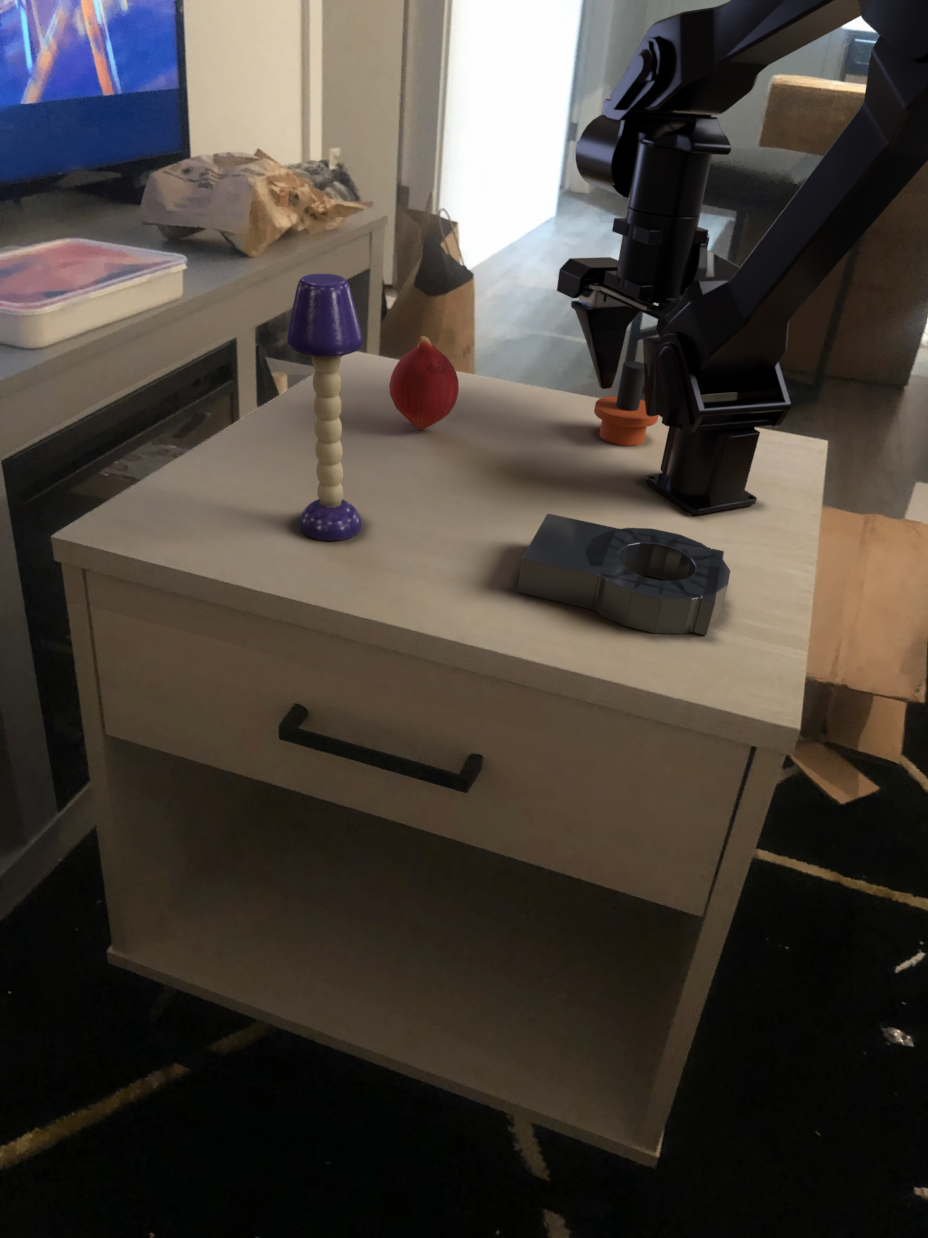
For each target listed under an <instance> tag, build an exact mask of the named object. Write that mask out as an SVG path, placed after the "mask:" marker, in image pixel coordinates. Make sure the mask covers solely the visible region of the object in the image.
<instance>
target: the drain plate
mask: <svg viewBox="0 0 928 1238" xmlns="http://www.w3.org/2000/svg"><path fill="white" fill-rule="evenodd" d="M724 556H725V551H724V550H722V549H716V548H711V547H708V546H706V545H705V544H703V542H700V541H697V540H694V539H692V538H690V537H687V536H685V535H682V534H679V533H674V532H670V531H665V530H662V529H656V528H650V527H649V528H647V527H622V528H617V527H613V526H609V525H605V524H599V523H595V522H590V521H585V520H580V519H576V518H571V517H567V516H561V515H557V514H552V513H547V514H545V516H544V518H543V520H542V522H541V523H540V525H539V527H538V528H537V531H536V533H535V535H534V537H533V538H532V539H531V541H530V543H529V545H528V547H527V548H526V550H525V552H524V554H523V556H522V558H521V563H520V571H519V577H518V584H517V593H518V594H524V595H528V596H532V597H536V598H541V599H545V600H550V601H554V602H558V603H563V604H566V605H571V606H575V607H579V608H584V609H588V610H592V611H595V612H596V613H598V614H599V615H600V616H602V617H604V618H606V619H609V620H610V621H612V622H615V623H617V624H619V625H621V626H623V627H627V628H630V629H635V630H640V631H644V632H648V633H651V634H672V635H673V634H675V635H678V634H680V635H682V634H688V633H691V634H692V633H694V634H697V635H702V636H707V635H708V634H709V629H710V627H711V626H710V625H711V624H713V623H714V622H715V621H717V620H718V618H720V616H721V612H722V610H723V605H724V601H725V598H726V594H727V591H728V587H729V582H730V576H731V569H730V567H729V566H728V564H727V563H726V562H725V560H724ZM650 577H651V578H650ZM654 578H655V579H654ZM659 579H660V580H659Z"/></svg>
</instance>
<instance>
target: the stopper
mask: <svg viewBox="0 0 928 1238" xmlns="http://www.w3.org/2000/svg"><path fill="white" fill-rule="evenodd" d="M643 389H644V362H640V361H636V360H628V361H624V362H623V363H622V369H621V375H620V380H619V386H618V391H617V395H613V396H611V395H610V396H604V397H601V398H599V399H597V400H596V401H595V404H594V408H593V409H594V410H593V412H594V415H595V416H596V417H597V418H598V419H600V420H601V422H600V423H601V424H600V430H599V437H600V438H601V439H602V440H604V441H605V442H608V443H610V444H613V445H619V446H624V447H625V446H626V447H627V446H629V447H631V446H633V447H634V446H638V445H641V444H643V443H644V442H645V437H646V432H647V428H648V427H651V426H654V425H655V424H657V422H658V420H659V415H657V416H651V417H650V416H648V415H647V414H646V407H645V400H642V399H641V398H642V393H643Z"/></svg>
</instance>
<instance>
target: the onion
mask: <svg viewBox="0 0 928 1238" xmlns="http://www.w3.org/2000/svg"><path fill="white" fill-rule="evenodd" d="M388 388H389V396H390V398H391V401H392V403H393V405H394V406H395V408H396V410H397V411H398V412H399V413H400V414H401V415H402V416H403V417H404V418H405V419H406V420H407V421H408V422H409V423H410V424H411V425H412V426H413V427H414V428H415V429H417V430H420V431H422V430H425V429H427V428H429V427H431V426H433V425H434V424H436V423H438V422H440V421H442V420H443V419H445V417H447V416H448V415H449V414H451V412H452V411H453V408H454V407H455V405H456V402H457V399H458V395H459V390H460V387H459V379H458V374H457V371H456V370H455V366H454V365H453V364H452V363H451V361H450V360H449V359H448V357H447V356H445V354H443V353H442V351H440V350H439V349H438V348H437V347H436V346H435V345H434V344H433V343H432V342H431V340H430V338H429V337H427V336H426V335H420V336H419V337H418V344H417V346H416V347H414V348H413V349H412V350H410V351H408V352H407V353H405V354H404V355H403V356H402V357H401V358H400V359H399V360H398V362H397V363H396V365H395V366H394V369H393V371H392V373H391V376H390V380H389V384H388Z"/></svg>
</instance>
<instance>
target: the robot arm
mask: <svg viewBox="0 0 928 1238" xmlns="http://www.w3.org/2000/svg"><path fill="white" fill-rule="evenodd" d="M860 17H861V19H862V20H863V21H864V22H865V23H866V24H867V25H868V26H869V27H870V28H871V29H872V30H873V31H874V32H875V33H877V34H878V35H879V36H878V37H877V40H876V41H875V43H874V44H873V46H872V49H871V51H870V55H869V63H868V69H867V70H868V71H867V76H866V85H865V91H864V99H863V101H862V104H861V105H860V107H859V109H858V110H857V111H856V112H855V114H854V115H853V117H852V118H851V119H850V121H849V122H848V123H847V124H846V126H845V127H844V128H843V130H842V132H841V133H840V134H839V135H838V137H837V138H836V139H835V141H834V142H833V143H832V144H831V146H830V147H829V148H828V150H827V151H826V153H825V154H824V155H823V157H822V158H821V159H820V160H819V162H818V163H817V164H816V166H815V167H814V169H813V170H812V171H811V172H810V174H809V175H808V177H807V178H806V179H805V181H804V182H803V183H802V184H801V185H800V187H799V188H798V190H797V191H796V193H795V194H794V195H793V196H792V197H791V199H790V200H789V201H788V203H787V204H786V206H785V207H784V208H783V210H782V211H781V212H780V214H779V215H778V216H777V218H776V219H775V220H774V222H773V223H772V224H771V225H770V227H769V228H768V230H767V231H766V232H765V234H764V235H763V236H762V237H761V239H760V240H759V241H758V243H757V244H756V245H755V247H754V248H753V249H752V251H751V252H750V253H749V255H748V256H747V258H745V260H744V261H743V263H742V264H741V265H737V264H736V263H734V262H732V261H730V260H728V259H726V258H724V257H722V256H720V255H718V254H716V253H714V252H712V251H710V250H708V248H709V242H710V234H709V229H707V228H703V227H700V226H699V222H700V217H701V212H702V207H703V202H704V197H705V193H706V188H707V182H708V178H709V172H710V168H711V163H712V158H713V155H715V156H716V155H717V156H729V154H731V151H732V145H731V142H730V141H729V138H728V136H727V135H726V134H725V132H724V131H723V129H722V128H721V125H720V122H719V118H718V117H717V116H718V115H722V114H724V113H725V112H727V111H728V110H730V108H732V107H733V106H734V105H736V104H737V103H738V102H739V101H740V100H741V99H743V98H744V97H745V96H747V95H748V94H749V93H751V91H753V89H754V87H755V85H756V83H757V80H758V77H759V74H760V73H761V72H762V71H763V70H764V69H766V68H767V67H768V66H770V65H772V64H774V63H775V62H777V61H779V60H781V59H783V58H785V57H787V56H788V55H791V54H792V53H794V52H796V51H798V50H799V49H802V48H803V47H805V46H807V45H809V44H811V43H813V42H815V41H817V40H818V39H820V38H823V37H824V36H826V35H829V33H831V32H833V31H836V30H837V29H839V28H841V27H843V26H845V25H847V24H849V23H851V22H852V21H854V20H856V19H859V18H860ZM641 39H642V40H641V42H640V44H639V45H638V47H637V49H636V51H635V52H634V54H633V56H632V58H631V60H630V62H629V64H628V66H627V68H626V69H625V72H624V74H623V76H622V77H621V79H620V80H619V82H617V83H618V84H617V85H616V86H615V88H614V89H613V90H612V91H611V93H610V95H609V98H605V99H604V100H603V105H602V112H601V115H599V116H597V117H595V118H593V119H592V120H591V121H590V122H589V123H588V124H587V125H586V127H585V128H584V130H583V131H582V133H581V135H580V138H579V140H578V141H577V142H576V147H575V157H574V158H575V165H576V168H577V171H578V173H579V175H580V177H581V178H582V179H583V180H584V181H585V182H586V183H587V184H589V185H590V186H593V187H595V188H599V189H601V190H603V191H604V190H605V191H606V192H609V193H612V194H616V195H618V196H621V197H623V198H626V199H628V200H627V206H626V212H625V217H614V218H613V222H612V229H611V232H613V233H616V234H619V235H620V236H621V243H620V248H619V253H618V259H616V258H614V257H611V256H605V257H604V256H603V257H602V256H601V257H570V258H568V259H567V260H566V262H565V263H564V264H563V265H562V266H561V267H560V268H559V271H558V279H557V286H556V292H559V293H560V294H562V295H564V296H566V297H569V298H570V299H577V300H572V301H570V308H571V309H573V310H574V311H575V314H576V317H577V320H578V322H579V325H580V328H581V330H582V334H583V336H584V339H585V342H586V346H587V349H588V352H589V355H590V358H591V362H592V365H593V369H594V372H595V375H596V379H597V383H598V386H599V388H600V389H602V390H609V389H612V387H613V385H614V382H615V380H616V376H617V372H618V370H619V369H618V368H619V365H620V361H621V356H622V352H623V347H624V343H625V338H626V334H627V330H628V327H629V326H630V325H631V323H632V322H633V321H634V319H635V318H636V317H637V316H638V315H639V313H640V312H641V313H643V314H645V315H647V316H650V317H652V318H654V319H656V320H657V323H656V327H655V328H656V331H657V335H658V336H647V337H643V338H642V349H643V350H642V352H643V353H642V354H643V364H644V383H643V389H644V390H643V391H644V393H643V394H644V401H645V407H646V414H647V415H648V416H650V417H651V416H657V415H658V417H660V418H661V424H662V425H664V426H665V427H668V431H667V434H666V435H667V436H666V440H665V445H664V450H663V455H662V458H661V464H660V473H655V474H648V475H646V476H645V480H644V482H645V483H646V484H647V485H648V486H649V487H651V488H653V489H654V490H655V491H657V492H658V493H660V494H662V495H663V496H664V497H666V498H668V500H670V501H672V502H674V503H675V504H676V505H678V506H680V507H681V508H683V509H684V510H685V511H687V512H688V513H690V514H692V515H704V514H710V513H714V512H715V513H716V512H720V511H725V510H731V509H737V508H744V507H749V506H753V505H756V504H757V500H758V498H757V496H756V495H754V494H752V493H750V492H749V491H747V490H746V488H747V483H748V479H749V476H750V472H751V468H752V465H753V461H754V457H755V454H756V450H757V446H758V442H759V438H760V434H761V432H760V431H759V430H758V429H757V428H764V427H772V428H777V427H778V428H779V427H781V425H782V424H783V422H784V420H785V418H786V417H787V416H788V413H789V412H790V410H791V408H792V401H791V399H790V396H789V395H790V394H789V392H788V387H787V384H786V382H785V379H784V376H783V371H782V369H781V364H780V362H779V361H780V360H781V359H782V357H783V356H784V354H785V353H786V351H787V348H788V342H789V341H788V339H789V326H790V320H791V318H792V317H793V316H794V314H796V313H797V311H798V310H799V309H800V307H801V306H802V305H803V304H804V303H805V302H806V301H807V299H808V298H809V297H810V296H811V295H812V293H813V292H814V291H815V290H816V289H817V288H818V287H819V286H820V284H822V283H823V281H824V280H825V279H826V278H827V277H828V276H829V274H830V273H831V272H832V271H833V270H834V268H835V267H836V266H837V265H838V264H839V263H840V262H841V260H843V258H844V257H845V256H846V255H847V253H849V251H850V250H851V249H852V248H853V247H854V246H855V245H856V243H857V242H858V241H859V240H860V239H861V238H862V237H863V235H864V234H865V233H866V232H867V231H868V230H869V228H870V227H871V226H872V225H873V224H874V223H875V221H877V219H879V217H880V216H881V215H882V214H883V212H884V211H885V210H886V209H888V206H890V204H891V203H892V202H893V201H894V200H895V199H896V198H897V196H898V195H899V194H900V193H901V192H902V191H903V189H904V188H905V187H906V186H907V185H908V184H909V182H911V180H912V179H913V178H914V177H915V176H916V174H918V172H919V171H920V170H921V169H922V168H923V167H924V166H925V164H926V163H927V162H928V0H729V1H726V2H725V3H722V4H720V5H717V6H713V7H706V8H700V9H692V10H686V11H682V12H679V13H676V14H673V15H670V16H668V17H667V16H666V17H665V18H662V19H659V20H658V21H656V22H653V24H652V25H651V26H650V27H649V28H648V29H647V31H646V32H645V34H644V36H643V37H642V38H641ZM656 304H657V305H656ZM728 394H737V398H728V399H716V400H703V398H702V396H712V395H728Z"/></svg>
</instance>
